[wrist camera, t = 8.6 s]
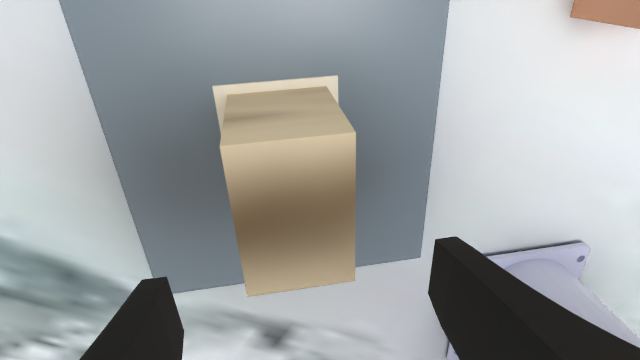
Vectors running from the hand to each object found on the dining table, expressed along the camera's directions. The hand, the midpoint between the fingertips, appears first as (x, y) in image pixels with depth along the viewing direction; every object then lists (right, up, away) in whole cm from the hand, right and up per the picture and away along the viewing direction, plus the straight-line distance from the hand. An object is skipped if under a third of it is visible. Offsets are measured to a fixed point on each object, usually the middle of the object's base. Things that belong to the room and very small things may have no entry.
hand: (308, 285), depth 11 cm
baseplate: (-1, +4, +7) cm, 8 cm away
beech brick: (-1, +4, +7) cm, 8 cm away
